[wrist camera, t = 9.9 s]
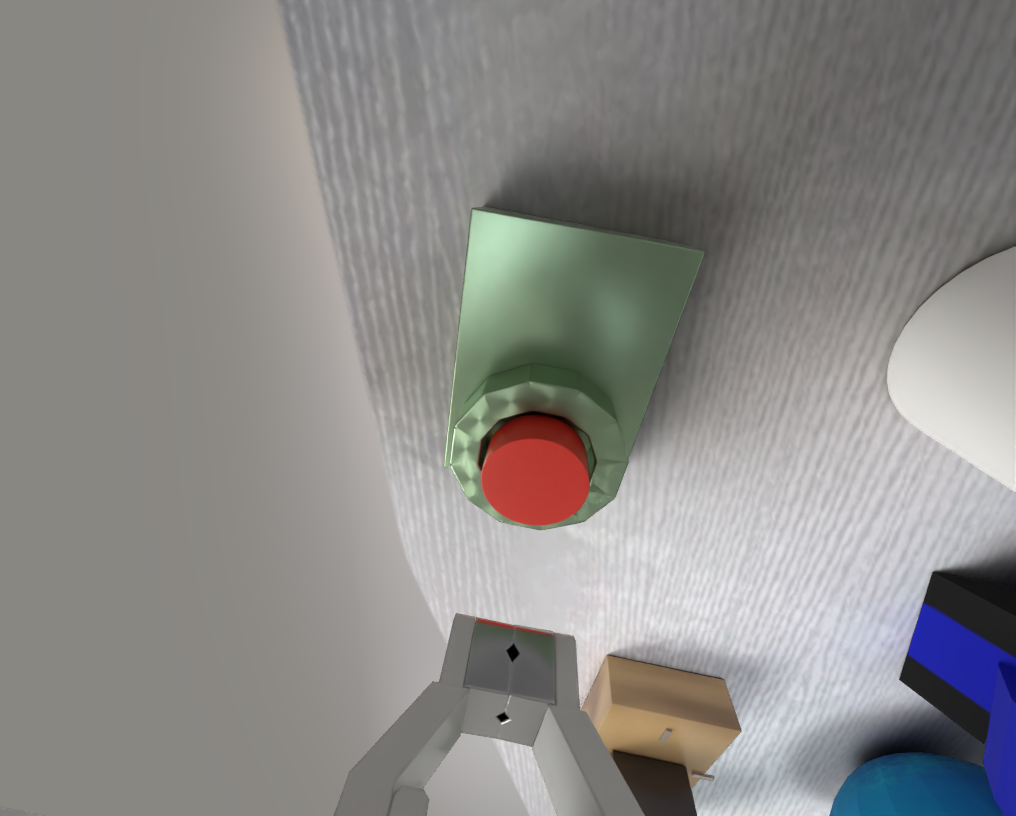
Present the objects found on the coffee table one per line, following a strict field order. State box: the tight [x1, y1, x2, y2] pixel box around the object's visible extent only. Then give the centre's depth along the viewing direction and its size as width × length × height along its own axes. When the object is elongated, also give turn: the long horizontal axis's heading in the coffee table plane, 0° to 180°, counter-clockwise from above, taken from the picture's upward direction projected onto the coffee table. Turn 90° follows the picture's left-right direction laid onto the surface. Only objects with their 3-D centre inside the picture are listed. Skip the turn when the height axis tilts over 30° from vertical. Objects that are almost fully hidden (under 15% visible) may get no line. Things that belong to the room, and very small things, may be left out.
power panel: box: [582, 656, 741, 788], centre depth 29 cm, size 12×9×3 cm
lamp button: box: [481, 415, 590, 526], centre depth 16 cm, size 4×4×2 cm
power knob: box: [610, 751, 697, 816], centre depth 26 cm, size 5×2×4 cm, turn 81°
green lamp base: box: [444, 206, 705, 530], centre depth 17 cm, size 12×8×4 cm
